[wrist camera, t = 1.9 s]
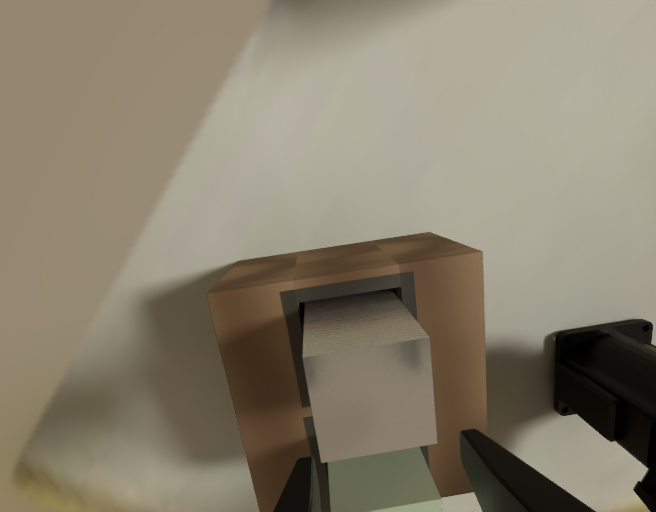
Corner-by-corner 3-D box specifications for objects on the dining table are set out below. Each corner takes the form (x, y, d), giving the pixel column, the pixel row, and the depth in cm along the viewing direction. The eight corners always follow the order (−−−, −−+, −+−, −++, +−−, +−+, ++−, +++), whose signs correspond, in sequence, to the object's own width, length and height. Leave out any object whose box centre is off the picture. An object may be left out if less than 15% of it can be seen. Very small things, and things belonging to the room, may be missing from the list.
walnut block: (429, 232, 19) (483, 252, 13) (441, 408, 22) (489, 490, 16) (238, 260, 19) (206, 294, 13) (276, 436, 22) (263, 529, 16)
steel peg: (384, 281, 15) (429, 337, 9) (392, 353, 16) (437, 443, 10) (305, 293, 15) (302, 357, 9) (317, 365, 16) (321, 463, 10)
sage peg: (396, 392, 17) (441, 498, 11) (402, 452, 17) (447, 579, 12) (323, 404, 16) (331, 518, 11) (333, 464, 17) (345, 598, 12)
